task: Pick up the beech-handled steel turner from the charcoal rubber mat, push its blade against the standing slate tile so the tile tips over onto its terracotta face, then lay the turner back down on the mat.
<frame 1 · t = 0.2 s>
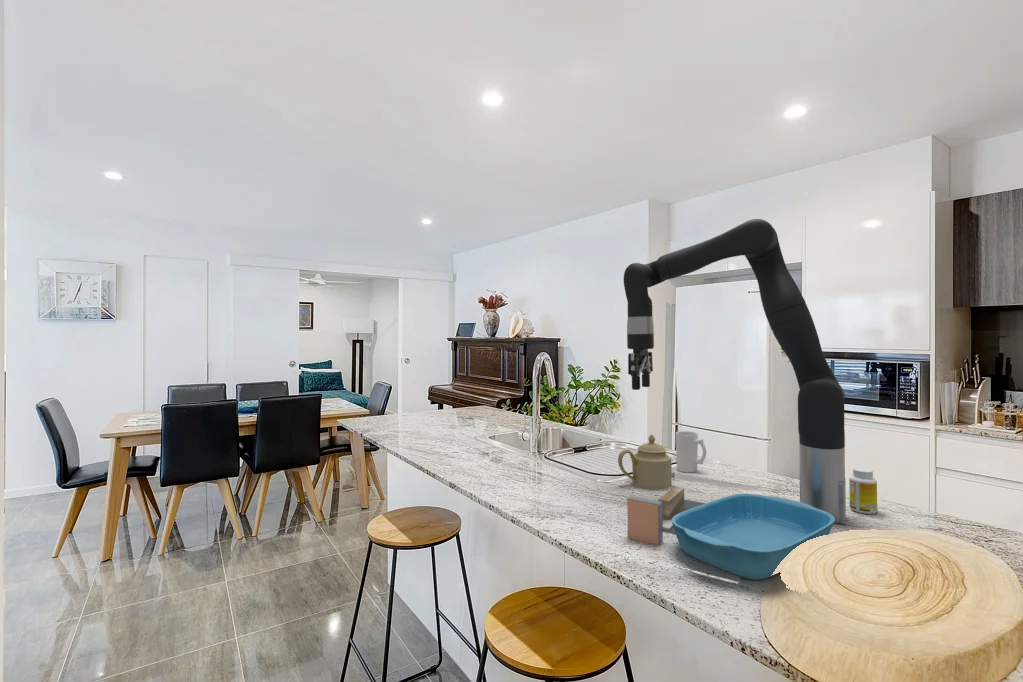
hand: (641, 388, 143), 29 cm above the countertop, tool pointing down, fingers open, 8 cm apart
beige teapot: (647, 487, 143), on the countertop
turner: (671, 513, 120), resting on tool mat
mug: (691, 471, 158), on the countertop
tile: (645, 541, 106), on the countertop
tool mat: (671, 515, 120), on the countertop
casserole dish: (753, 551, 101), on the countertop
supplement bottle: (863, 511, 121), on the countertop
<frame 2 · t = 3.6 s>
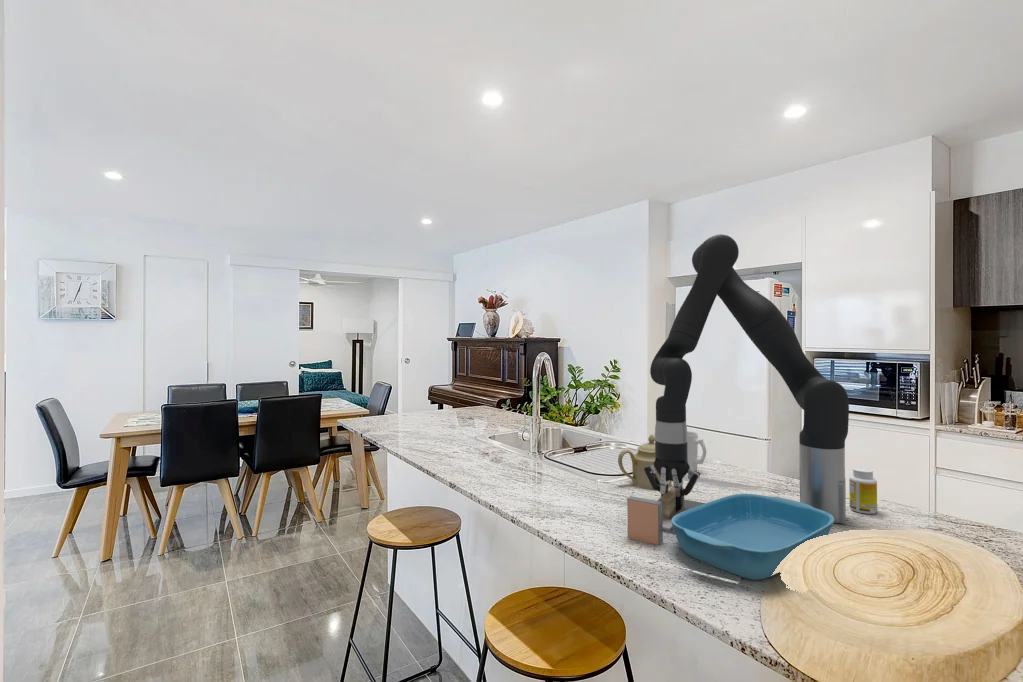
hand: (671, 509, 120), 2 cm above the countertop, tool pointing down, fingers closed on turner
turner: (671, 513, 120), point 1 cm above the countertop, touching gripper, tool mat
everything else where it was.
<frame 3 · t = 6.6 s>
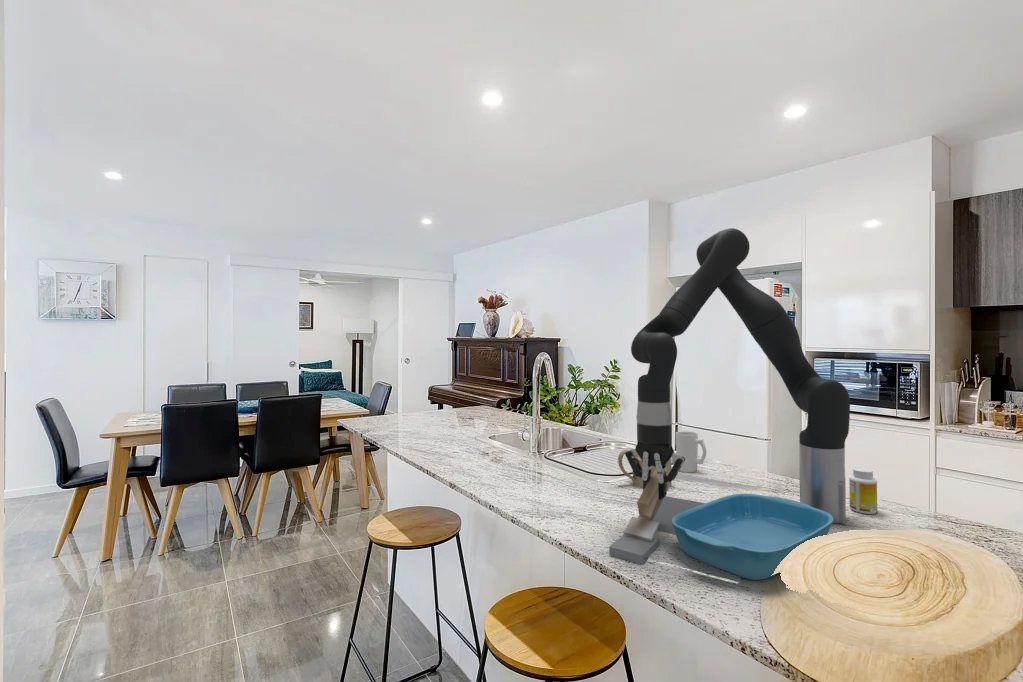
hand: (654, 497, 111), 8 cm above the countertop, tool pointing down, fingers closed on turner
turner: (654, 504, 111), point 6 cm above the countertop, tilted 22°, touching gripper
tile: (642, 540, 104), point 1 cm above the countertop, tilted 90°
everything else where it was.
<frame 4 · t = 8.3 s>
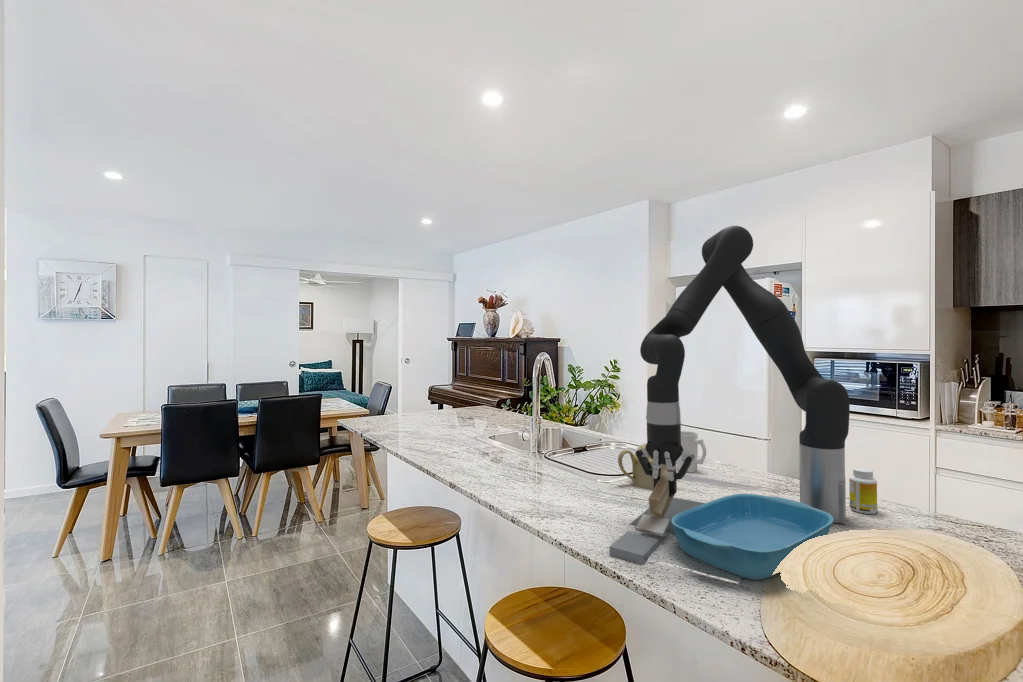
hand: (665, 494, 114), 7 cm above the countertop, tool pointing down, fingers closed on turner
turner: (664, 503, 114), point 5 cm above the countertop, tilted 18°, touching gripper
everything else where it was.
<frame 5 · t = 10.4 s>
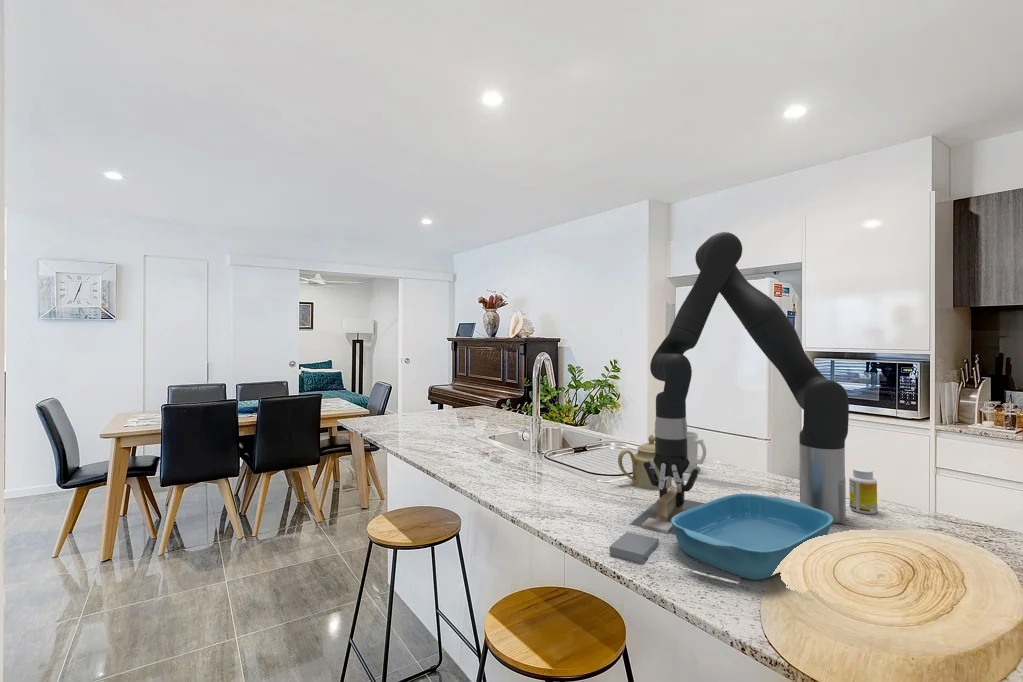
hand: (671, 504, 120), 3 cm above the countertop, tool pointing down, fingers open, 3 cm apart
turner: (670, 515, 119), point 1 cm above the countertop
everything else where it was.
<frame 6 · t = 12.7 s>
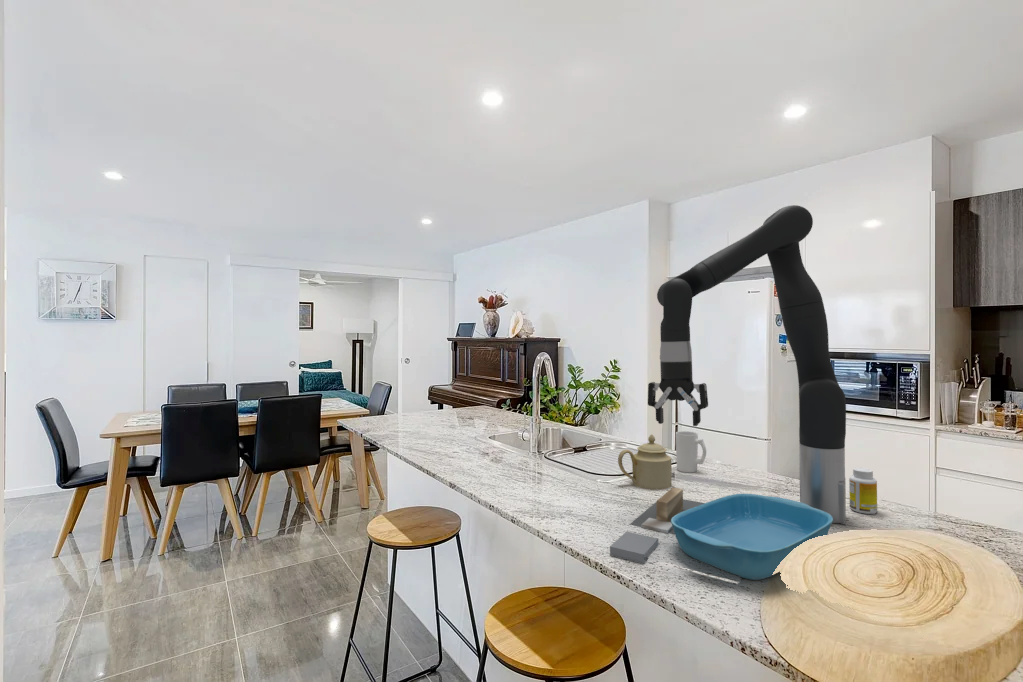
hand: (677, 424, 123), 22 cm above the countertop, tool pointing down, fingers open, 8 cm apart
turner: (670, 515, 119), resting on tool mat
everything else where it was.
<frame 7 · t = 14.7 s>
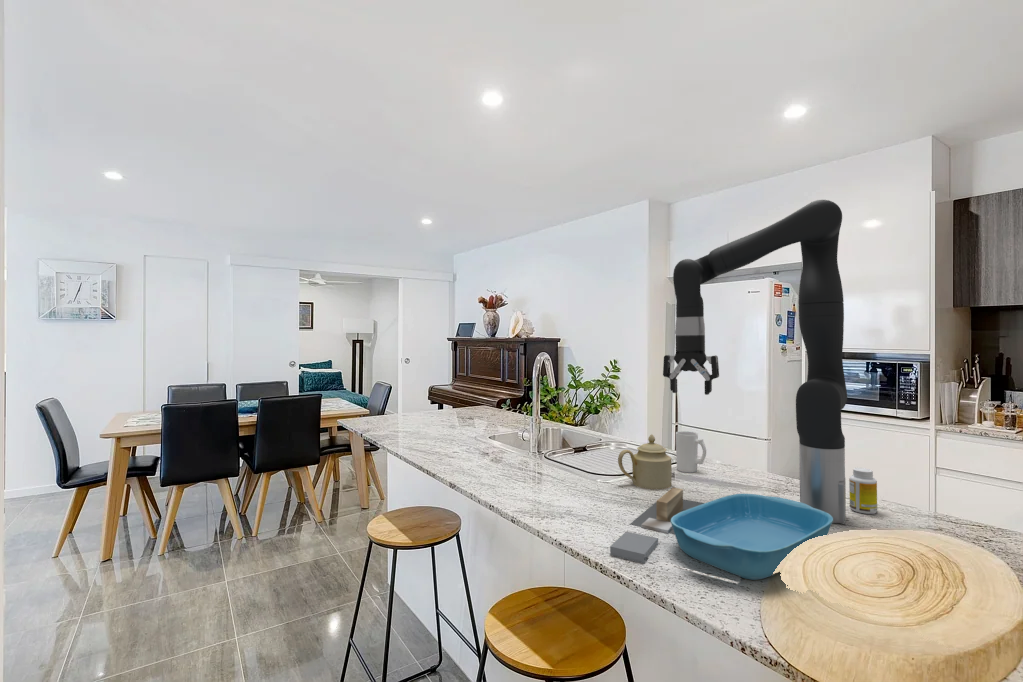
hand: (690, 393, 134), 28 cm above the countertop, tool pointing down, fingers open, 8 cm apart
nothing on the countertop moved.
at the end: tile tilted 90°; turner inside the target area (1.3 cm from its centre), point 0.5 cm above the countertop; the gripper is holding nothing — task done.
